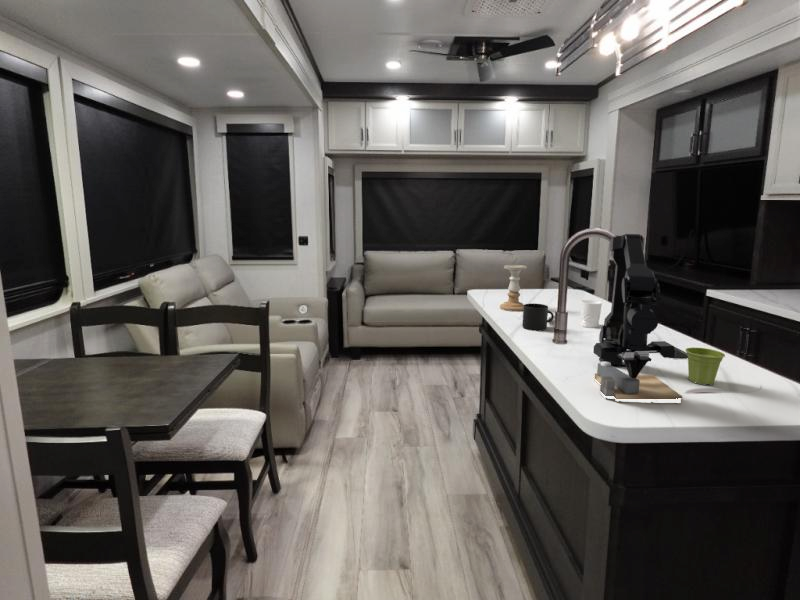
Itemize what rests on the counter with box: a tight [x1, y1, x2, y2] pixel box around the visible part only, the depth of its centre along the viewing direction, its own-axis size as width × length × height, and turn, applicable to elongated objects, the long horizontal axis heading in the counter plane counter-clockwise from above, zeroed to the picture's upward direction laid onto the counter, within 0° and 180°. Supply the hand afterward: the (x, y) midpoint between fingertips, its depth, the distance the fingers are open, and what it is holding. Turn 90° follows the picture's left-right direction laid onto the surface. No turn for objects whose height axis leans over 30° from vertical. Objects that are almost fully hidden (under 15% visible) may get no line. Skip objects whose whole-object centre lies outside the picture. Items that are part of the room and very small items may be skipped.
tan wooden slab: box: [594, 373, 683, 399], centre depth 133 cm, size 16×18×5 cm
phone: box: [647, 343, 688, 358], centre depth 169 cm, size 8×1×15 cm
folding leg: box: [596, 361, 640, 394], centre depth 132 cm, size 15×3×4 cm, turn 6°
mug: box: [522, 303, 554, 332], centre depth 199 cm, size 9×12×9 cm
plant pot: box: [685, 346, 726, 385], centre depth 140 cm, size 9×9×9 cm
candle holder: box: [499, 264, 528, 312], centre depth 235 cm, size 12×12×20 cm
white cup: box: [580, 299, 603, 329], centre depth 203 cm, size 8×8×10 cm
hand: (631, 381), depth 130 cm, fingers closed
